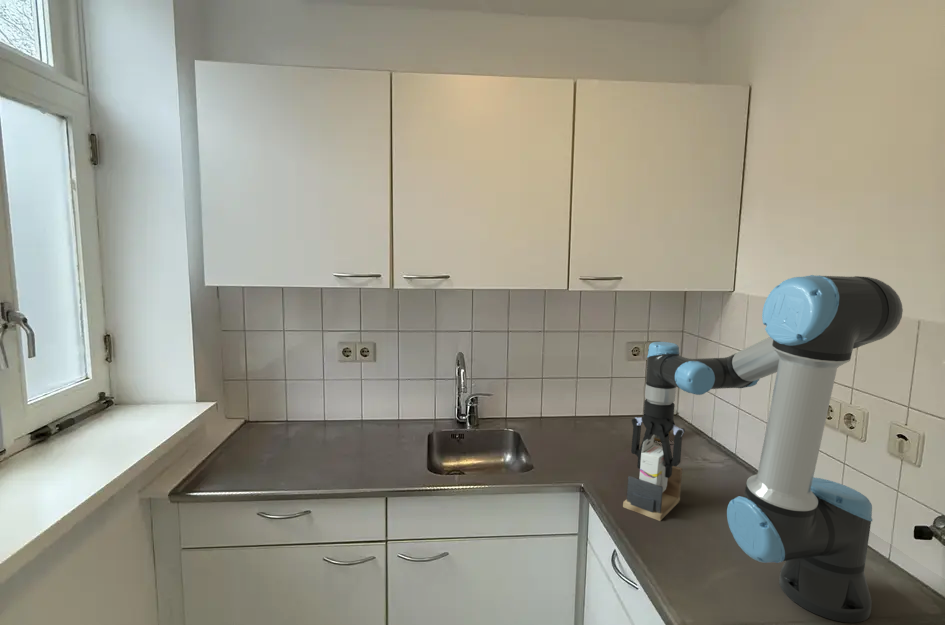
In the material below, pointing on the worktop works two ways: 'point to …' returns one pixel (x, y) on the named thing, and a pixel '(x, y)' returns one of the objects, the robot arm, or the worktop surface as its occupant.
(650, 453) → the ink cartridge box
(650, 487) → the dark grey flat block
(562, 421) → the worktop surface
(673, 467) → the wooden plate stand
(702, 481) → the worktop surface
